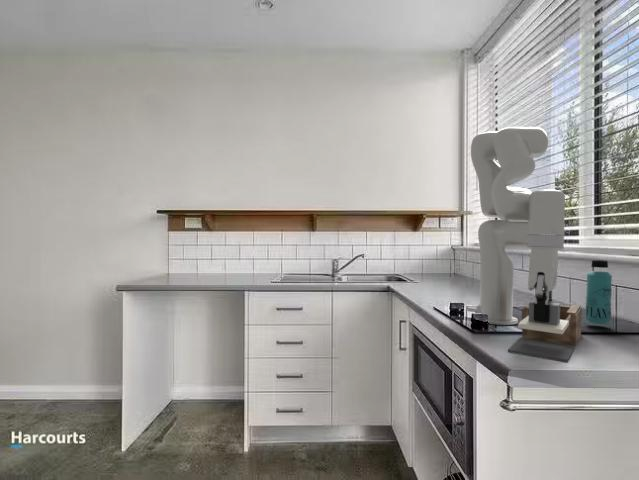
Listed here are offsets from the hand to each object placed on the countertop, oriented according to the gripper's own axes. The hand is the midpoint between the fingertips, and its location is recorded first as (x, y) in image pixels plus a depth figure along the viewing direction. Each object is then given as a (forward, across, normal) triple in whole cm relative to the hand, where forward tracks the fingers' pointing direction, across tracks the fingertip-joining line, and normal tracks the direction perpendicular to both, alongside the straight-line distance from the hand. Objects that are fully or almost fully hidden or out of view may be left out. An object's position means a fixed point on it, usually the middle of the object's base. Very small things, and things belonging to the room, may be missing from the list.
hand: (543, 319), depth 99 cm
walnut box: (+7, -15, 0) cm, 17 cm away
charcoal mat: (+7, +1, 0) cm, 7 cm away
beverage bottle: (+7, -38, +9) cm, 40 cm away
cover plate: (+2, 0, 0) cm, 2 cm away
